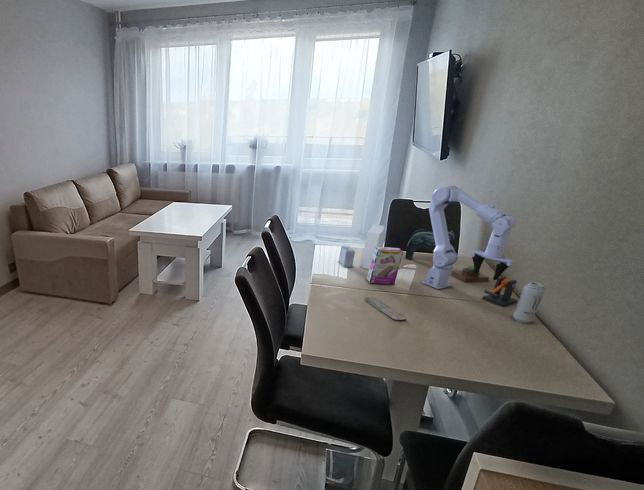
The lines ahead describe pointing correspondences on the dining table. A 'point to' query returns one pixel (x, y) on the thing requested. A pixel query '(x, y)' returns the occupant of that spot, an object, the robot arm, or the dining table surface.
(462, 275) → the socket block
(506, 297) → the dark grey stand
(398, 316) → the thin flat strip
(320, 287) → the dining table surface
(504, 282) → the kettle switch
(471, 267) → the socket button
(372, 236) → the milk
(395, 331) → the dining table surface
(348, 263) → the medicine box
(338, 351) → the dining table surface
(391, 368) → the dining table surface
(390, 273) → the candy bar box
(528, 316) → the energy drink can
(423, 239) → the dark green curved piece
